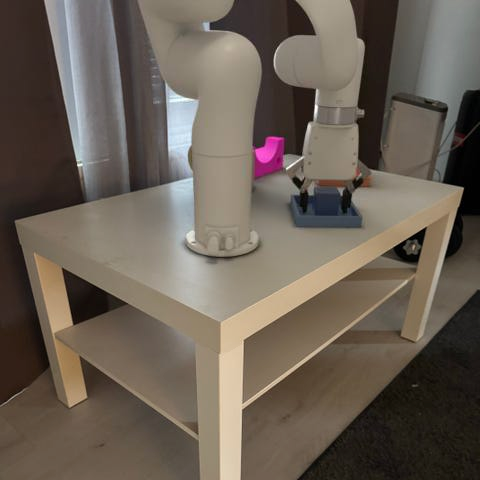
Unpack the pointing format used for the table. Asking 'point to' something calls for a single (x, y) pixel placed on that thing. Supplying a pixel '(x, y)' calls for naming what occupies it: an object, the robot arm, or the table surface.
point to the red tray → (341, 183)
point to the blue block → (326, 201)
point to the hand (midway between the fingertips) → (323, 210)
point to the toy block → (269, 156)
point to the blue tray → (311, 220)
